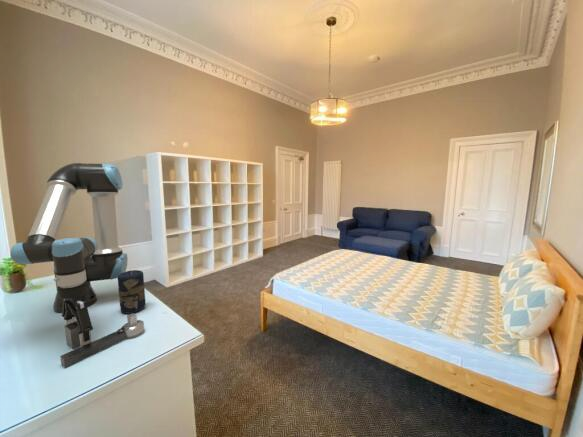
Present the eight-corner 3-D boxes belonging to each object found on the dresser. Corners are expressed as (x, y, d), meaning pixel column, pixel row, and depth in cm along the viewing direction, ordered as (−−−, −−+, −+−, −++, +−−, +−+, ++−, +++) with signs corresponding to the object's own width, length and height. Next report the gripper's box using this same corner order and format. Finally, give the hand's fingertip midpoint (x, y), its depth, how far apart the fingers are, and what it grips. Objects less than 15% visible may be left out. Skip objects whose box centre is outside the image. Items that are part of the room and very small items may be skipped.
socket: (67, 344, 85) (64, 324, 84) (85, 336, 90) (83, 318, 89) (72, 349, 83) (70, 329, 82) (91, 341, 87) (89, 322, 86)
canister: (118, 317, 103) (114, 276, 101) (122, 307, 111) (118, 269, 109) (145, 311, 107) (142, 272, 105) (146, 302, 116) (143, 265, 113)
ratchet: (59, 361, 77) (56, 340, 76) (138, 325, 97) (136, 308, 96) (67, 370, 73) (64, 348, 72) (147, 331, 93) (146, 313, 92)
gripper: (45, 280, 87) (53, 336, 89) (71, 296, 74) (79, 362, 76) (72, 273, 93) (79, 326, 96) (100, 288, 80) (107, 348, 83)
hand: (79, 342), depth 86 cm, fingers open, 12 cm apart
